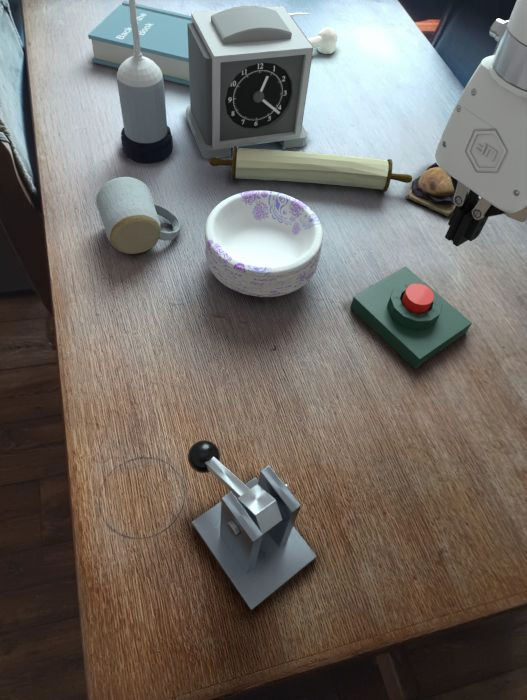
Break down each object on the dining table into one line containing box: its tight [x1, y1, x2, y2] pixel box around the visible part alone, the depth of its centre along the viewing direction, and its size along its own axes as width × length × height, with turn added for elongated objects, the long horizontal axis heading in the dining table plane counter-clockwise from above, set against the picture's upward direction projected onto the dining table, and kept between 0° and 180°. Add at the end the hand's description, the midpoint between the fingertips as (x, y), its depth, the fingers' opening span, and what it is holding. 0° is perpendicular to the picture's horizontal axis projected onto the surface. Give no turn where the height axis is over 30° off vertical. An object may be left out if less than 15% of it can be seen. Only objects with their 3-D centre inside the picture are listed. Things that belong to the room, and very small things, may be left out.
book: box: [87, 0, 192, 87], centre depth 104 cm, size 23×16×5 cm
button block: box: [349, 266, 473, 370], centre depth 71 cm, size 12×10×4 cm
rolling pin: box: [208, 146, 413, 193], centre depth 85 cm, size 32×6×5 cm, turn 88°
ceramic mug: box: [95, 176, 182, 255], centre depth 75 cm, size 11×8×8 cm
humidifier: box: [116, 0, 174, 165], centre depth 79 cm, size 8×8×25 cm
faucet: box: [288, 12, 338, 55], centre depth 108 cm, size 4×18×10 cm, turn 122°
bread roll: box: [406, 161, 456, 217], centre depth 87 cm, size 11×8×4 cm
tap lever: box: [187, 439, 282, 534], centre depth 50 cm, size 13×3×3 cm
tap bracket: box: [191, 464, 318, 613], centre depth 49 cm, size 10×8×12 cm
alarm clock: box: [185, 5, 314, 160], centre depth 87 cm, size 18×13×18 cm
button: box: [402, 284, 434, 314], centre depth 69 cm, size 4×4×2 cm
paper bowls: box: [204, 190, 324, 298], centre depth 72 cm, size 15×15×8 cm
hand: (459, 237), depth 57 cm, fingers closed
